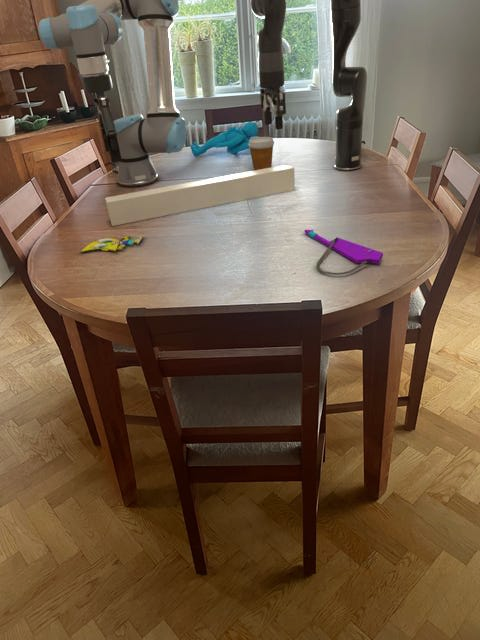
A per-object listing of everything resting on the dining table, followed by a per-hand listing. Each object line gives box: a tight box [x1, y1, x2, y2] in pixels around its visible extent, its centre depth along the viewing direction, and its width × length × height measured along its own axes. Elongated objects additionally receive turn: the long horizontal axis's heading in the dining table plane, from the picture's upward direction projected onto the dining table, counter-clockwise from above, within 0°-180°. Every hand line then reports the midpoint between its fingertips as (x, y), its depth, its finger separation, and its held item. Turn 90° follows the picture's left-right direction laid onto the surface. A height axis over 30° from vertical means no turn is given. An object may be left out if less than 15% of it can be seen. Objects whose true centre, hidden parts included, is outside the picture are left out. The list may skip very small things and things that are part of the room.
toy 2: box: [189, 121, 259, 157], centre depth 206 cm, size 17×11×30 cm
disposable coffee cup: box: [248, 136, 275, 171], centre depth 177 cm, size 10×10×12 cm
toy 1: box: [80, 235, 144, 254], centre depth 133 cm, size 10×1×15 cm
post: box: [104, 163, 296, 227], centre depth 154 cm, size 61×5×8 cm, turn 110°
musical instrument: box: [304, 229, 384, 276], centre depth 117 cm, size 24×2×20 cm
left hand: (113, 156), depth 139 cm, fingers open, 13 cm apart
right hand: (273, 126), depth 151 cm, fingers open, 8 cm apart
